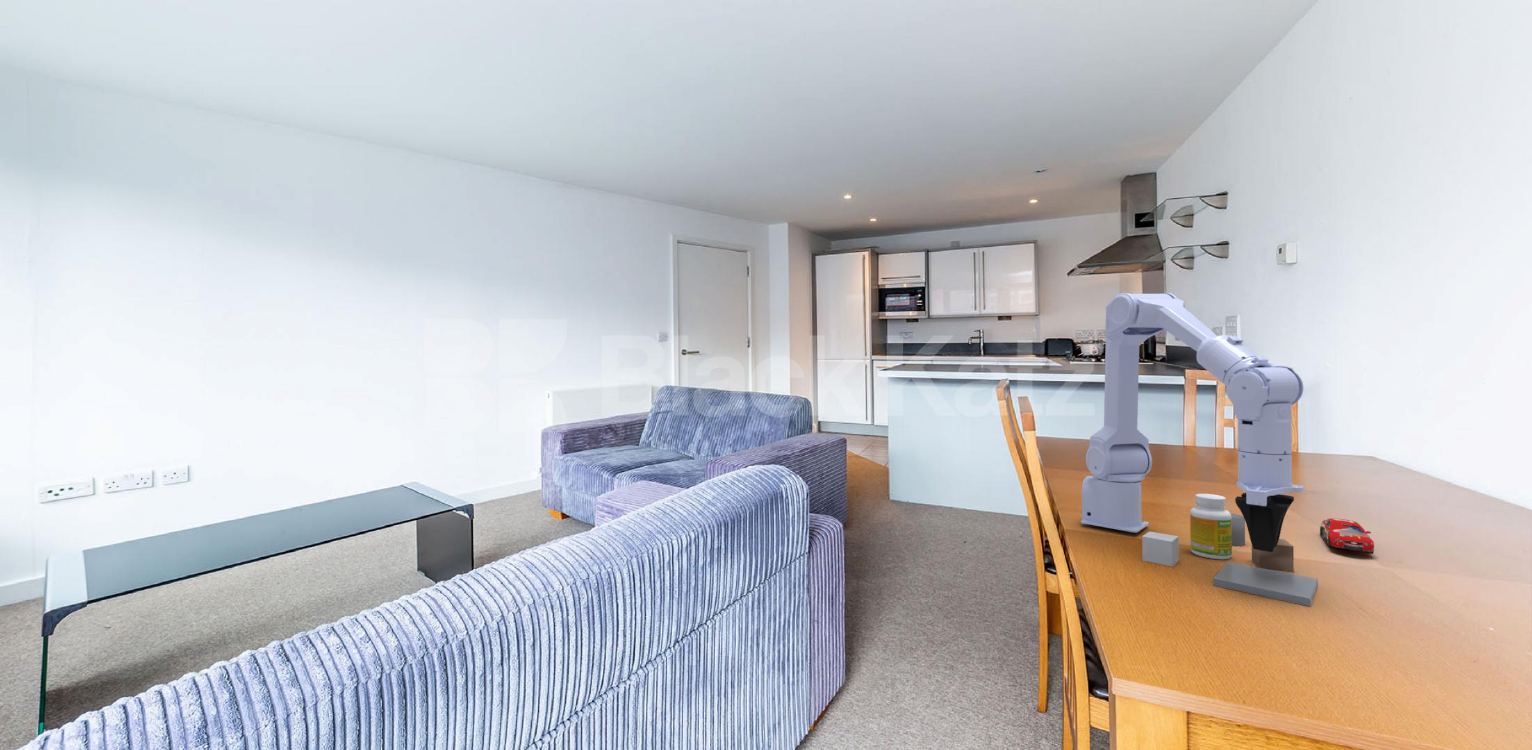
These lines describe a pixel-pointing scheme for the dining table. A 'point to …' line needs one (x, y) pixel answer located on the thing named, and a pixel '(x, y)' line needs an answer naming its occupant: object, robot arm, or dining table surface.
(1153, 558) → the grey block
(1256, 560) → the walnut block
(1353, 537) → the race car
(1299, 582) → the slate tile
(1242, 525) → the slate grey block
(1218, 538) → the supplement bottle
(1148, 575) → the dining table surface
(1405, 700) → the dining table surface
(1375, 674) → the dining table surface
